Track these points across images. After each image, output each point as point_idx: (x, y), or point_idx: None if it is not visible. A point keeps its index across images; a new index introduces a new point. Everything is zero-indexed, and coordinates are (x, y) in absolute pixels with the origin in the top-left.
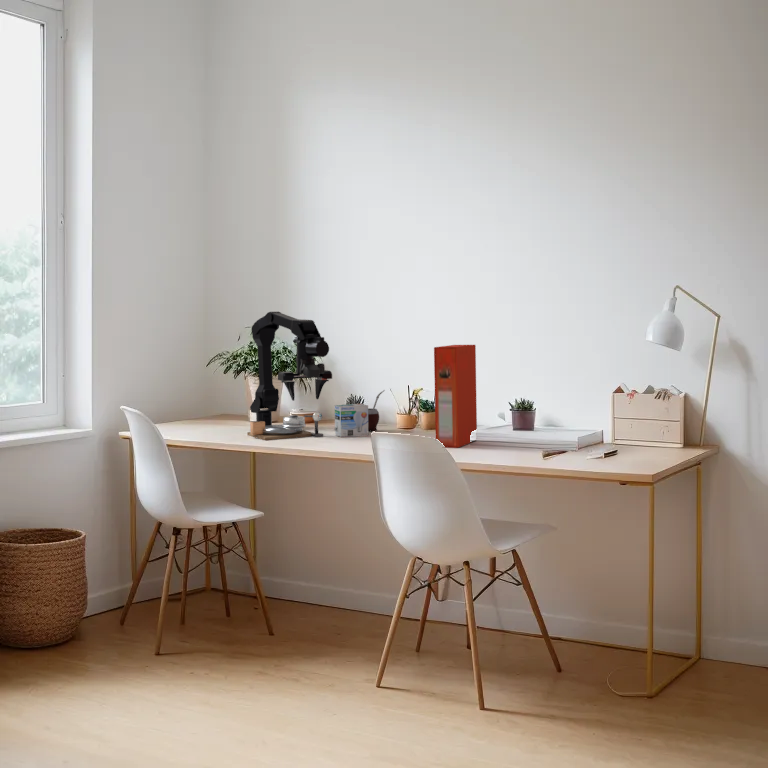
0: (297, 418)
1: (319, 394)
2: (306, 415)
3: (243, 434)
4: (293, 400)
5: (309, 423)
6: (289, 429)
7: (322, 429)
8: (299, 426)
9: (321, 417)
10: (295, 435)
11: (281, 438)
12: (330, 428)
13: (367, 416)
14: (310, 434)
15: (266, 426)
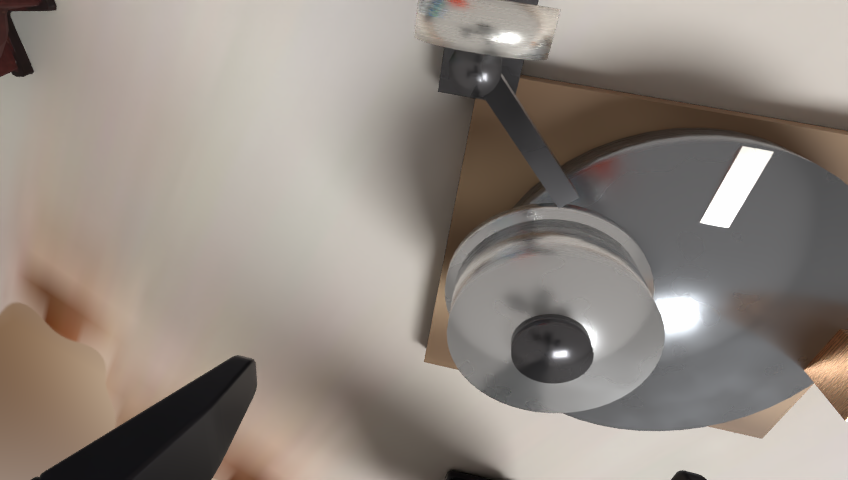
0: (592, 260)
1: (165, 405)
2: (563, 170)
3: (729, 453)
4: (698, 474)
5: (236, 467)
6: (762, 145)
7: (265, 303)
8: (569, 207)
9: None
10: (681, 106)
11: (819, 126)
12: (210, 302)
13: None
14: (528, 79)
15: (690, 407)
